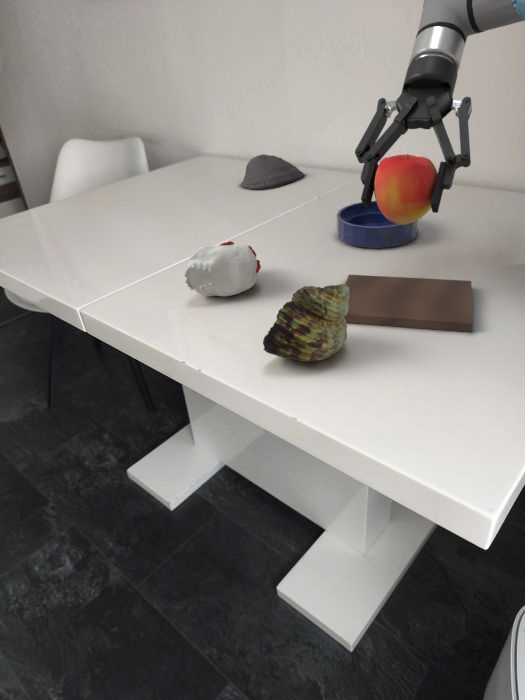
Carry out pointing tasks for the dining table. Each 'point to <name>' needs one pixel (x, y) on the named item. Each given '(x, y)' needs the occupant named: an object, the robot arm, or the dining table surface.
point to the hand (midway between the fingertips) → (398, 205)
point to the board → (410, 302)
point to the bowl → (371, 227)
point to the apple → (404, 187)
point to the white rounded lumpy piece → (222, 269)
